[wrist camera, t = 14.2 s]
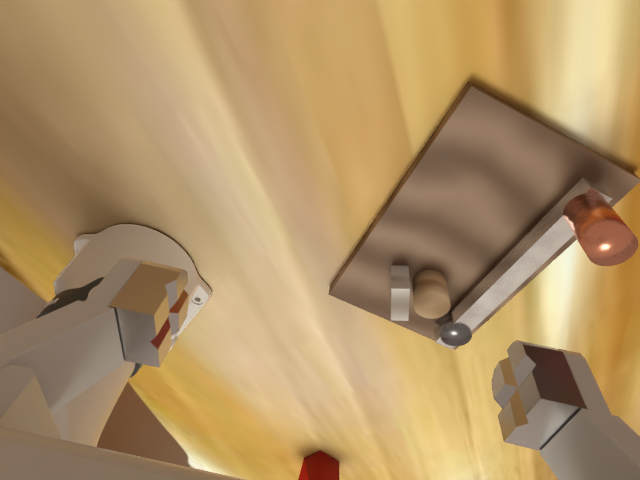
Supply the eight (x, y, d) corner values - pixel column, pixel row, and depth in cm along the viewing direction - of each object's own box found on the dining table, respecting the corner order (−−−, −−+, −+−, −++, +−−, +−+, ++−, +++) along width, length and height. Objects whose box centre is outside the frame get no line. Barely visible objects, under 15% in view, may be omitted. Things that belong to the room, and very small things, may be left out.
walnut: (433, 299, 51) (436, 323, 48) (405, 286, 51) (406, 309, 48) (453, 278, 49) (458, 302, 46) (424, 264, 49) (426, 287, 45)
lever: (453, 336, 54) (462, 393, 47) (429, 326, 53) (435, 382, 47) (607, 189, 40) (651, 240, 33) (576, 173, 39) (614, 221, 32)
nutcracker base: (454, 340, 57) (459, 374, 53) (330, 286, 55) (324, 317, 50) (633, 173, 41) (663, 202, 36) (468, 81, 38) (479, 100, 33)
